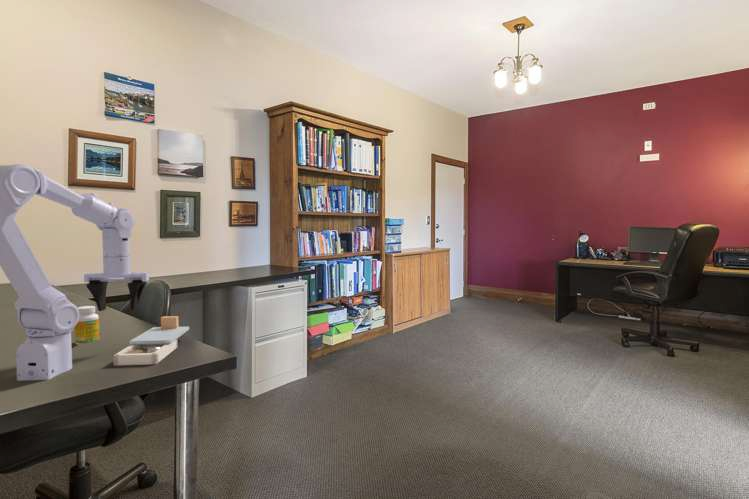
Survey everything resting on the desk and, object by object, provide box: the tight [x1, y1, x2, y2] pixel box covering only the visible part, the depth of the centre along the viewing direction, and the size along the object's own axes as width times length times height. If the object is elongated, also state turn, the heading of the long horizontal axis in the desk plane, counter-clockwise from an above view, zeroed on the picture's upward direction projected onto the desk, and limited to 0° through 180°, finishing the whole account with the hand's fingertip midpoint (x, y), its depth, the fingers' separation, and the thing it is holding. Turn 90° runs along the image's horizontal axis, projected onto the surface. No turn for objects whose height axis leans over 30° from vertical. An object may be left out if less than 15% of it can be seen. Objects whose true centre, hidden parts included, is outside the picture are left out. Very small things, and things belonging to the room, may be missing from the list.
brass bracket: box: [125, 350, 143, 354], centre depth 93 cm, size 3×3×2 cm
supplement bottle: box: [74, 305, 100, 346], centre depth 110 cm, size 5×5×10 cm
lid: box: [128, 315, 190, 345], centre depth 105 cm, size 13×9×4 cm
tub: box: [112, 337, 179, 366], centre depth 97 cm, size 13×9×3 cm
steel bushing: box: [147, 346, 161, 353], centre depth 97 cm, size 3×3×2 cm
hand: (118, 309), depth 103 cm, fingers open, 7 cm apart
